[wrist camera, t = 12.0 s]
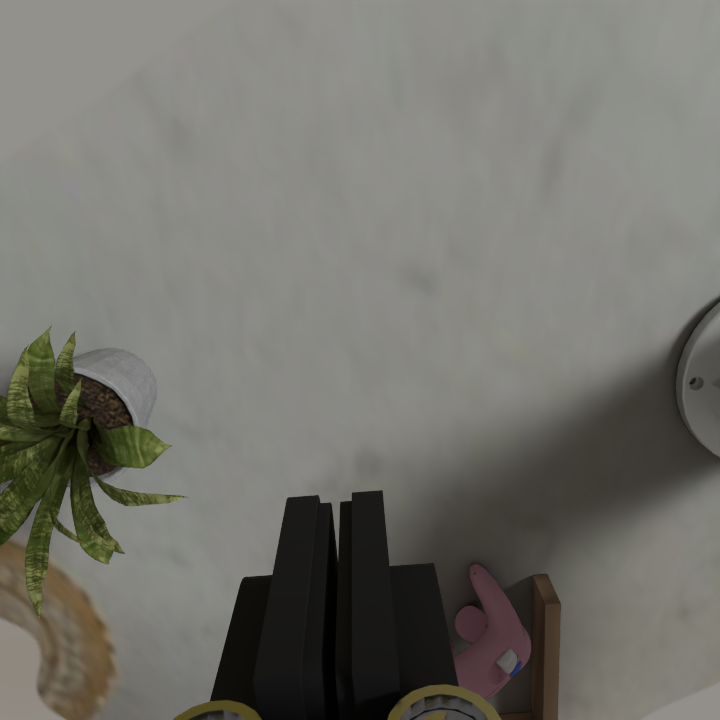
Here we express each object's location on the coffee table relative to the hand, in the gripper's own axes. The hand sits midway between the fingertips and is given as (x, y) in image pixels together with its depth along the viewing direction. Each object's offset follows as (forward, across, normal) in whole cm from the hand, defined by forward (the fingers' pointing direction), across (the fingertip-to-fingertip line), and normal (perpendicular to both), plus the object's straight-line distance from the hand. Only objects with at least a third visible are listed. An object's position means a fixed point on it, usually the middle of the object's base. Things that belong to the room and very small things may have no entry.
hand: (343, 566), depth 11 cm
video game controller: (+27, -5, +25) cm, 38 cm away
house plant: (+27, +14, +5) cm, 31 cm away
